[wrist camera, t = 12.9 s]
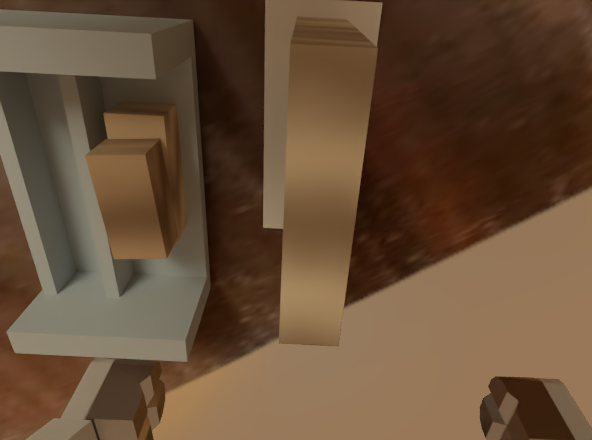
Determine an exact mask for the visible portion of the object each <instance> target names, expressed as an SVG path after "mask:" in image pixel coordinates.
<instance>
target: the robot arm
mask: <svg viewBox="0 0 592 440" xmlns="http://www.w3.org/2000/svg"><path fill="white" fill-rule="evenodd" d="M161 373H162V369H161V364H160V362H157V361H144V360H130V359H115V358H98V357H96V358H95V359H94V360H93V361H92V362H91V363H90V365H89V367H88V368H87V370H86V372H85V374H84V376H83V378H82V379H81V381H80V383H79V385H78V387H77V389H76V390H75V392H74V394H73V396H72V398H71V400H70V401H69V403H68V405H67V407H66V409H65V411H64V412H63V414H62V416H61V418H60V419H56V418H54V419H52V420H51V421H50V422H48V423H47V424H46V425H44V426H43V427H42V428H40V429H39V430H38V431H36V432H35V433H34V434H32V435H31V436H30V437H28V438H27V439H26V440H153V434H152V430H153V429H154V428H155V427H156V426H157V425H158V424H159V423H160V420H161V417H162V414H163V408H164V403H165V386H164V383H163V382H162V381H161V380H160V376H161ZM489 389H490V391H491V393H490V394H489V395H487V396H486V397H484V398H483V400H482V404H481V406H480V421H481V426H482V430H483V432H484V435H485V438H486V439H487V440H592V428H591V426H590V425H589V423H588V421H587V420H586V418H585V417H584V415H583V414H582V412H581V411H580V409H579V407H578V406H577V404H576V403H575V401H574V399H573V398H572V396H571V395H570V393H569V391H568V390H567V388H566V387H565V385H564V384H563V383H562V382H561V381H560V380H558V379H540V378H536V379H535V378H526V377H525V378H524V377H494V378H493V379H491V382H490V384H489Z"/></svg>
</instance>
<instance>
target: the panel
mask: <svg viewBox="0 0 592 440" xmlns="http://www.w3.org/2000/svg"><path fill="white" fill-rule="evenodd" d="M377 54H378V48H377V47H376V46H375V45H374V44H373V43H372V42H371V41H370V40H369V39H368V38H367V37H366V36H364V35H363V34H362V33H361V32H360V31H359V30H358V29H357V28H356V27H355V26H354V25H353V24H352V23H351V22H349V21H348V20H347V19H337V18H319V17H300V16H297V20H296V24H295V27H294V31H293V35H292V38H291V42H290V60H289V87H288V113H287V140H286V167H285V194H284V221H283V248H282V275H281V302H280V328H279V343H282V344H303V345H322V346H339V340H340V332H341V324H342V317H343V310H344V302H345V295H346V287H347V280H348V272H349V264H350V257H351V249H352V242H353V234H354V227H355V219H356V212H357V204H358V197H359V189H360V182H361V174H362V167H363V159H364V152H365V144H366V136H367V129H368V121H369V114H370V106H371V99H372V91H373V84H374V76H375V69H376V61H377Z"/></svg>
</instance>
